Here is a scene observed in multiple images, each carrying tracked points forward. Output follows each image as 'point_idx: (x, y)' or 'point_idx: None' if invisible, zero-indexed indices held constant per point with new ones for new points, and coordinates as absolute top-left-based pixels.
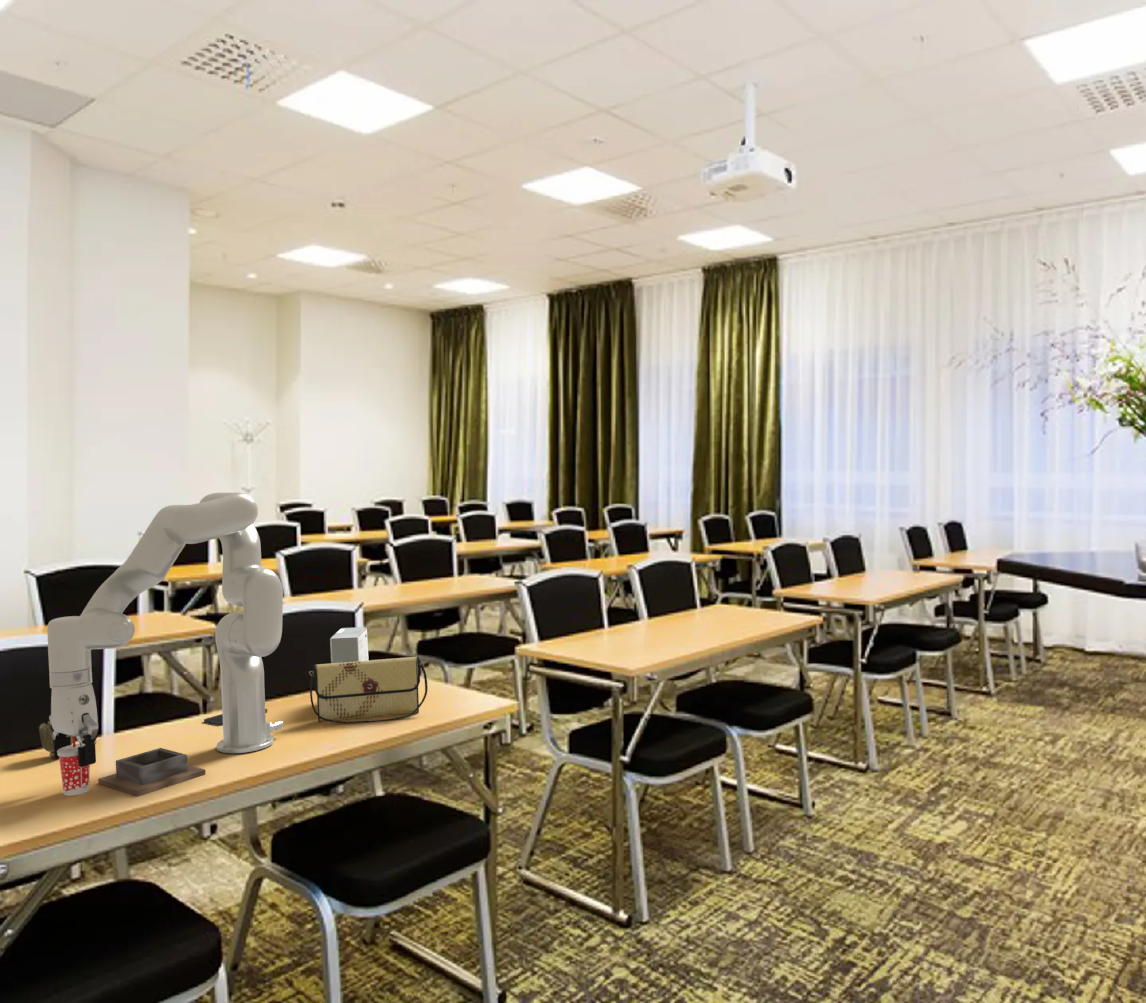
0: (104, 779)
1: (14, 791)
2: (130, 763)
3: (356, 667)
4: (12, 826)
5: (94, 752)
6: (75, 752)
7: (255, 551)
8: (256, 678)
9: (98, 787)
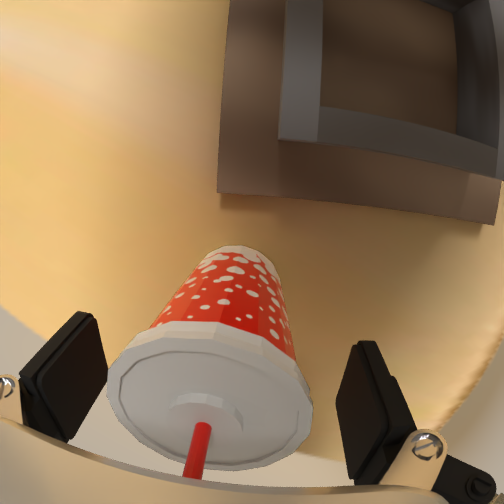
0: (256, 186)
1: None
2: (418, 143)
3: None
4: (330, 456)
5: (388, 383)
6: (294, 446)
7: None
8: None
9: (268, 218)
